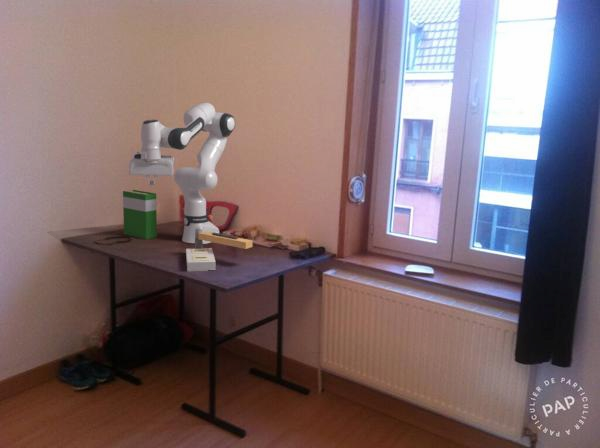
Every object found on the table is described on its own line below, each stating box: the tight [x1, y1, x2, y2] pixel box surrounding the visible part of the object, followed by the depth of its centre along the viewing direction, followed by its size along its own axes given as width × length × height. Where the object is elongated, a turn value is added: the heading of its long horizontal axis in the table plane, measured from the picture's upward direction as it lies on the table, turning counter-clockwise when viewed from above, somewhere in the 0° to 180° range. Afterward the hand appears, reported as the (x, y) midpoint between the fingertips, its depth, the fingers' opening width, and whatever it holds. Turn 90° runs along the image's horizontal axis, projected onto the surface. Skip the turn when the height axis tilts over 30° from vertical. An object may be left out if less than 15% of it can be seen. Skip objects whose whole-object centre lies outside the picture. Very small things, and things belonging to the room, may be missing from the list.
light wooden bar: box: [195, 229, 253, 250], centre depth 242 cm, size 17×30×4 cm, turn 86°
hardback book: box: [122, 189, 158, 240], centre depth 284 cm, size 18×7×24 cm, turn 58°
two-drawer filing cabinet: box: [185, 238, 217, 272], centre depth 239 cm, size 29×12×8 cm, turn 14°
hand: (151, 184), depth 246 cm, fingers closed
